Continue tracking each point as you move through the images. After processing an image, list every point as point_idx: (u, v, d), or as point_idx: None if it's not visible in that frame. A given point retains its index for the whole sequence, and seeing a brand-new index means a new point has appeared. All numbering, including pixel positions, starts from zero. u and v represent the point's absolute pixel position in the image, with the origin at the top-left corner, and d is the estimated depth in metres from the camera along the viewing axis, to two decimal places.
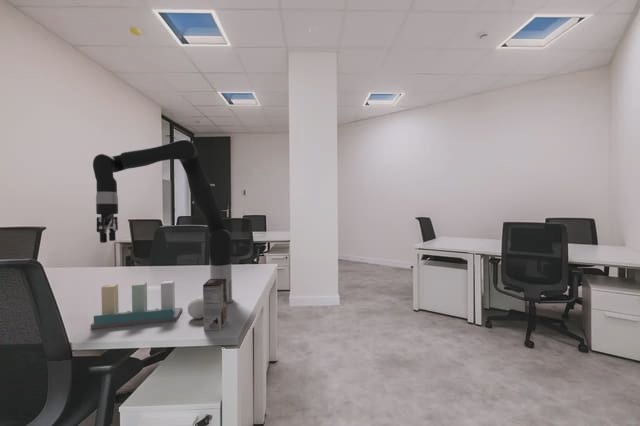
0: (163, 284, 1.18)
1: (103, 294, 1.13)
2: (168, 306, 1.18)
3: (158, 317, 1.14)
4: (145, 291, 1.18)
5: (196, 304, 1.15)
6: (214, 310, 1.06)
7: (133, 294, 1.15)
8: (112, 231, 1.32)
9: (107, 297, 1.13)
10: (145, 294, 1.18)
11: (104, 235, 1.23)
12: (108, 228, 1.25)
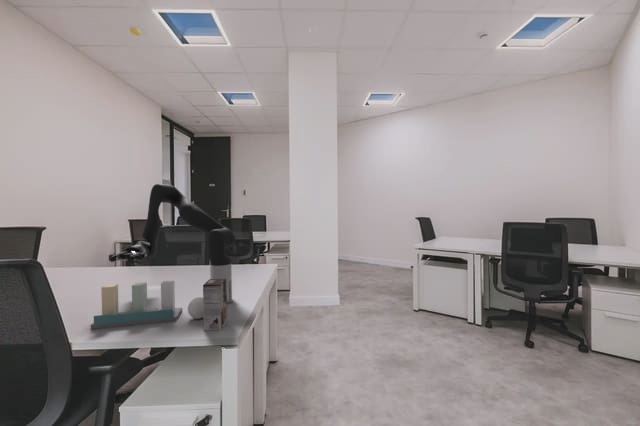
0: (163, 284, 1.18)
1: (103, 294, 1.13)
2: (168, 306, 1.18)
3: (158, 317, 1.14)
4: (145, 291, 1.18)
5: (196, 304, 1.15)
6: (214, 310, 1.06)
7: (133, 294, 1.15)
8: None
9: (107, 297, 1.13)
10: (145, 294, 1.18)
11: None
12: (119, 253, 1.31)
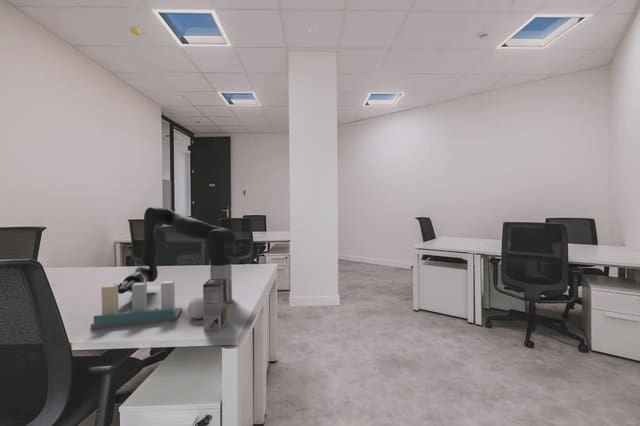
0: (163, 284, 1.18)
1: (103, 294, 1.13)
2: (168, 306, 1.18)
3: (158, 317, 1.14)
4: (145, 291, 1.18)
5: (196, 304, 1.15)
6: (214, 310, 1.06)
7: (133, 294, 1.15)
8: None
9: (107, 297, 1.13)
10: (145, 294, 1.18)
11: (120, 288, 1.28)
12: (125, 284, 1.32)
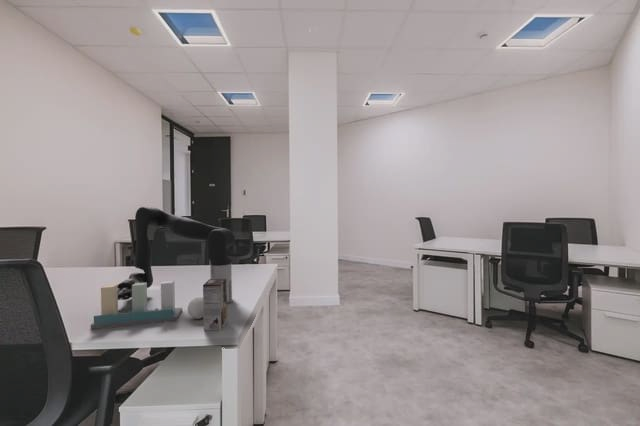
0: (163, 284, 1.18)
1: (102, 294, 1.12)
2: (168, 306, 1.18)
3: (158, 317, 1.14)
4: (145, 291, 1.18)
5: (196, 304, 1.15)
6: (214, 310, 1.06)
7: (133, 294, 1.15)
8: None
9: (107, 297, 1.13)
10: (145, 294, 1.18)
11: None
12: None
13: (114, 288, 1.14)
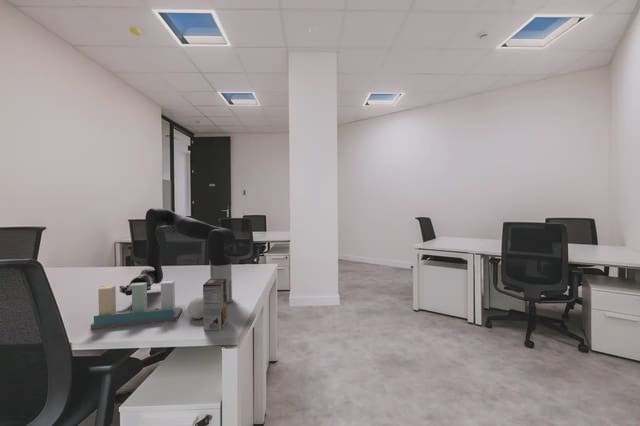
0: (163, 284, 1.18)
1: (100, 296, 1.10)
2: (168, 306, 1.18)
3: (158, 317, 1.14)
4: (145, 291, 1.18)
5: (196, 304, 1.15)
6: (214, 310, 1.06)
7: (133, 294, 1.15)
8: None
9: (104, 299, 1.11)
10: (145, 294, 1.18)
11: (127, 289, 1.29)
12: (131, 285, 1.32)
13: (112, 289, 1.12)
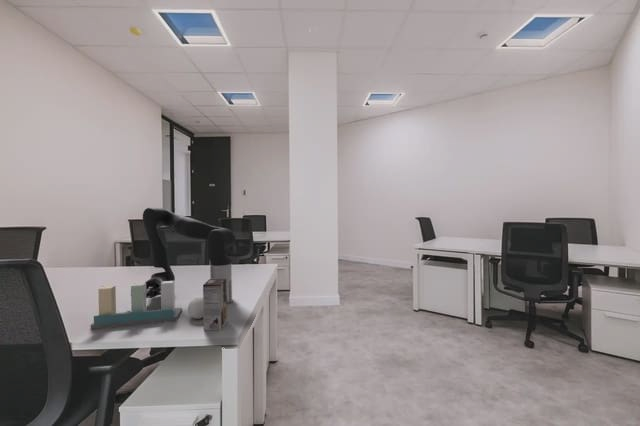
0: (163, 284, 1.18)
1: (100, 296, 1.10)
2: (168, 306, 1.18)
3: (158, 317, 1.14)
4: (144, 291, 1.17)
5: (196, 304, 1.15)
6: (214, 310, 1.06)
7: (132, 295, 1.14)
8: None
9: (104, 299, 1.11)
10: (144, 295, 1.17)
11: None
12: None
13: (112, 289, 1.12)
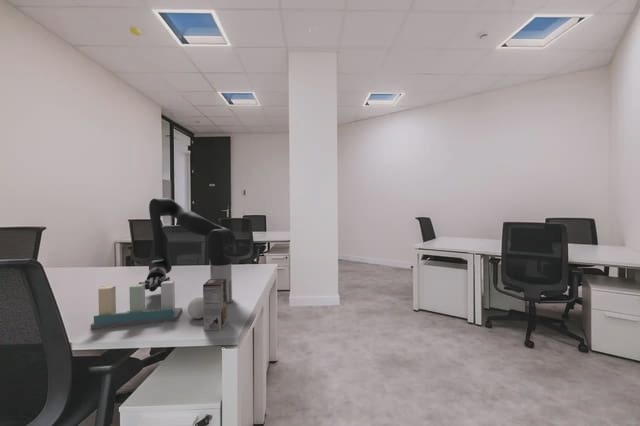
0: (163, 284, 1.18)
1: (100, 296, 1.10)
2: (168, 306, 1.18)
3: (158, 317, 1.14)
4: (143, 292, 1.16)
5: (196, 304, 1.15)
6: (214, 310, 1.06)
7: (131, 296, 1.13)
8: None
9: (104, 299, 1.11)
10: (143, 296, 1.16)
11: (150, 286, 1.31)
12: (152, 281, 1.34)
13: (112, 289, 1.12)
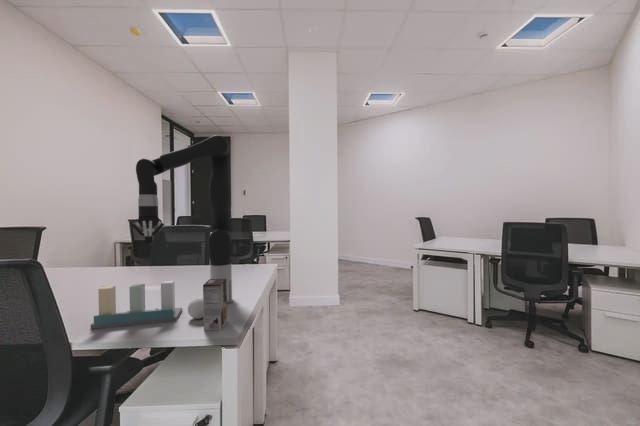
0: (163, 284, 1.18)
1: (100, 296, 1.10)
2: (168, 306, 1.18)
3: (158, 317, 1.14)
4: (143, 292, 1.16)
5: (196, 304, 1.15)
6: (214, 310, 1.06)
7: (131, 296, 1.13)
8: None
9: (104, 299, 1.11)
10: (143, 296, 1.16)
11: (145, 238, 1.33)
12: (146, 230, 1.32)
13: (112, 289, 1.12)
